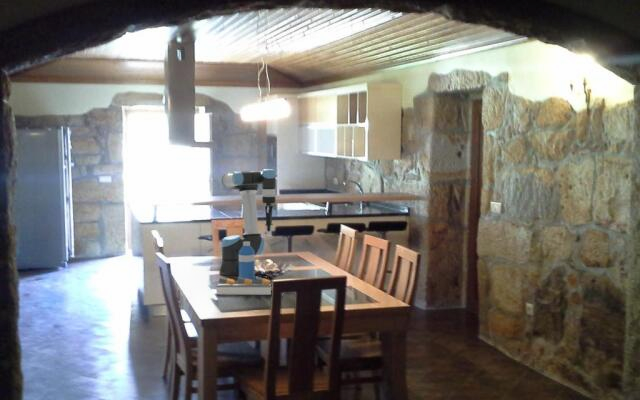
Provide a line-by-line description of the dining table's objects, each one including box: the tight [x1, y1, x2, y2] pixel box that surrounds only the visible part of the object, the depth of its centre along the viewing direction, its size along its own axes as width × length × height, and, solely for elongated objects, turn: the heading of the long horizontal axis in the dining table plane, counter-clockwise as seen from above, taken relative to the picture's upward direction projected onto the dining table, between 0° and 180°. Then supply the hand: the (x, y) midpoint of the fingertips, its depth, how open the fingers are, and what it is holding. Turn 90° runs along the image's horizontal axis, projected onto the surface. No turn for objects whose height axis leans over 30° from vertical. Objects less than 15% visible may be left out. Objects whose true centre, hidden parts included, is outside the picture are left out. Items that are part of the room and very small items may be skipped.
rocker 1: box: [218, 276, 236, 285], centre depth 385 cm, size 5×8×2 cm, turn 90°
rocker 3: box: [255, 276, 271, 285], centre depth 384 cm, size 5×8×2 cm, turn 90°
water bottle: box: [238, 241, 256, 281], centre depth 404 cm, size 9×9×25 cm
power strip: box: [216, 280, 273, 296], centre depth 385 cm, size 10×30×5 cm, turn 90°
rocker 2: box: [236, 276, 252, 285], centre depth 385 cm, size 5×8×2 cm, turn 90°
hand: (268, 236), depth 400 cm, fingers closed
